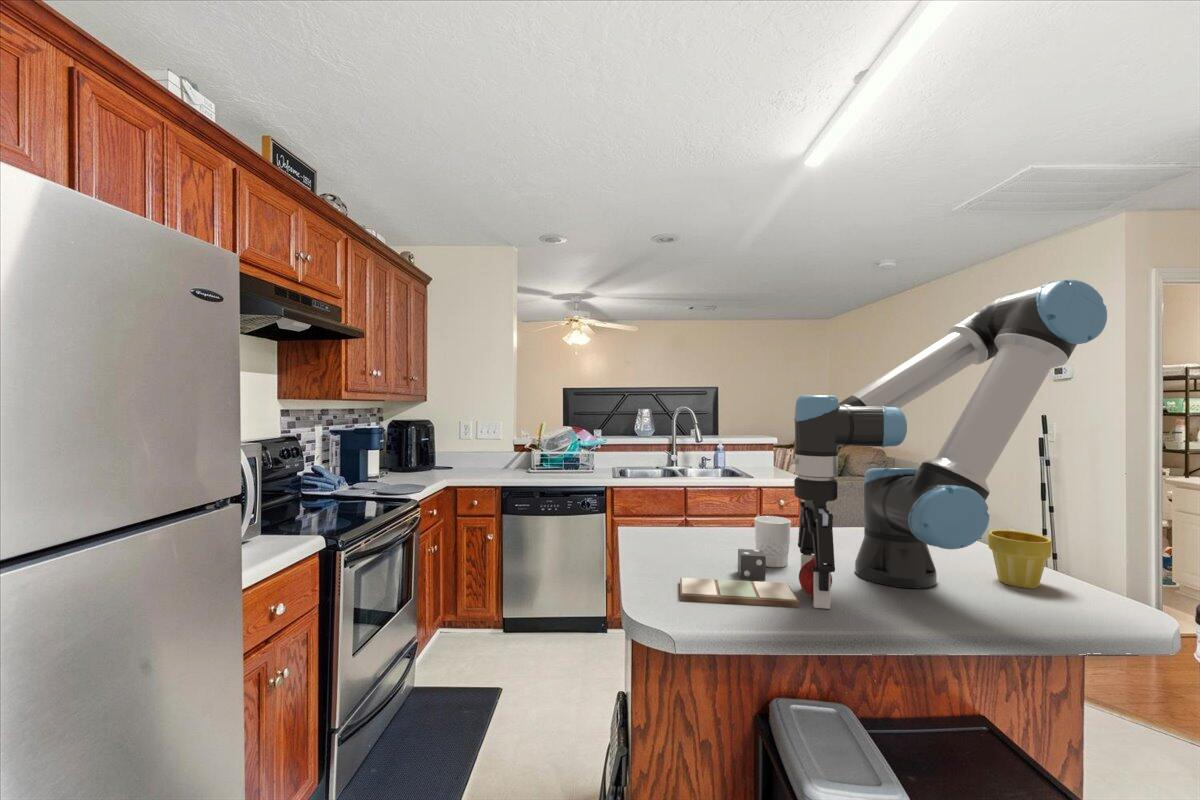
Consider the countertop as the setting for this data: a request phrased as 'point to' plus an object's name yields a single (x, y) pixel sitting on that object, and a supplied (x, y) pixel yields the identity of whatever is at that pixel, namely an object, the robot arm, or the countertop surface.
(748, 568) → the die
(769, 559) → the white cup
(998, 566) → the plant pot
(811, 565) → the onion
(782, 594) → the board
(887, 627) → the countertop surface
